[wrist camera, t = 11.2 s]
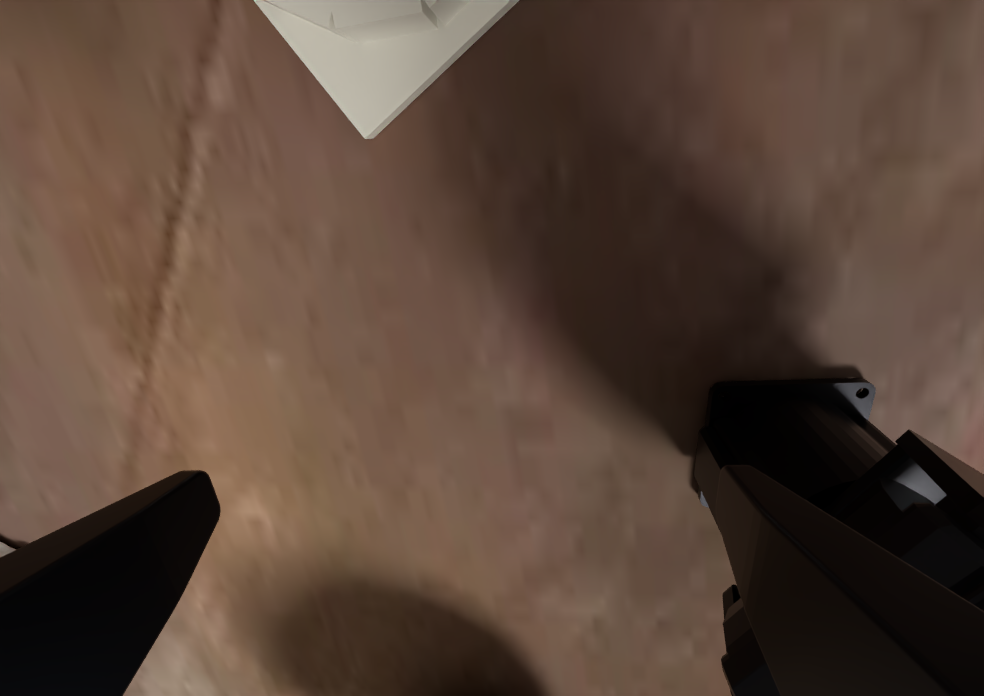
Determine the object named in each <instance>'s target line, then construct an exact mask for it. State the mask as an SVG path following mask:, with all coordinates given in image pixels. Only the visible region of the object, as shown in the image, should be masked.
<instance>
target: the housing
mask: <svg viewBox="0 0 984 696" xmlns="http://www.w3.org/2000/svg"><path fill="white" fill-rule="evenodd" d="M254 1H255V3H256V4H257V5H258V6H259V8H260V9H261V10H262V11H263V13H264V14H265V15H266V16H267V18H268V19H269V20H270V21H271V23H272V24H273V25H274V26H275V28H276V29H277V30H278V31H279V33H280V34H281V35H282V36H283V38H284V39H285V40H286V41H287V43H288V44H289V45H290V46H291V48H292V49H293V50H294V51H295V53H296V54H297V55H298V56H299V58H300V59H301V60H302V61H303V63H304V64H305V65H306V66H307V68H308V69H309V70H310V71H311V73H312V74H313V75H314V76H315V77H316V79H317V80H318V81H319V82H320V84H321V85H322V86H323V87H324V89H325V90H326V91H327V92H328V94H329V95H330V96H331V97H332V99H333V100H334V101H335V102H336V104H337V105H338V106H339V107H340V109H341V110H342V111H343V112H344V114H345V115H346V116H347V117H348V119H349V120H350V121H351V122H352V124H353V125H354V126H355V127H356V129H357V130H358V131H359V132H360V134H361V135H362V136H363V137H364V139H373V138H375V137H376V136H377V135H378V134H379V133H380V132H381V131H382V130H383V129H384V128H385V127H386V126H387V125H388V124H389V123H390V122H391V121H393V120H394V119H395V118H396V117H397V116H398V115H399V114H400V113H401V112H402V111H403V110H404V109H405V108H406V107H407V106H408V105H409V104H410V103H412V102H413V101H414V100H415V99H416V98H417V97H418V96H419V95H420V94H421V93H422V92H423V91H424V90H425V89H426V88H427V87H428V86H430V85H431V84H432V83H433V82H434V81H435V80H436V79H437V78H438V77H439V76H440V75H441V74H442V73H443V72H444V71H445V70H446V69H447V68H449V67H450V66H451V65H452V64H453V63H454V62H455V61H456V60H457V59H458V58H459V57H460V56H461V55H462V54H463V53H464V52H465V51H467V50H468V49H469V48H470V47H471V46H472V45H473V44H474V43H475V42H476V41H477V40H478V39H479V38H480V37H481V36H482V35H483V34H484V33H486V32H487V31H488V30H489V29H490V28H491V27H492V26H493V25H494V24H495V23H496V22H497V21H498V20H499V19H500V18H501V17H502V16H504V15H505V14H506V13H507V12H508V11H509V10H510V9H511V8H512V7H513V6H514V5H515V4H516V3H517V2H518V1H519V0H254Z"/></svg>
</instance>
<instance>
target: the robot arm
mask: <svg viewBox="0 0 984 696" xmlns="http://www.w3.org/2000/svg"><path fill="white" fill-rule="evenodd" d="M860 388H863V390H862V391H861V392H860V393H858V394H856V392H857V390H859V389H860ZM723 391H727V394H726V395H725V396H724V397H718V395H719V394H720V393H721V392H723ZM874 396H875V387H874V385H872V384H871V383H870V382H868V381H867V380H865V379H862V378H844V379H806V380H769V381H731V382H718V383H716V384H714V385H713V386H712V387H711V388H710V391H709V398H708V407H707V415H706V424H705V427H702V428H701V430H700V431H699V433H698V442H697V452H696V461H695V471H694V476H695V478H696V481H697V483H698V485H699V487H698V498H699V500H700V502H701V504H702V505H703V506H705V507H709V509H710V511H711V513H712V515H713V517H714V519H715V521H716V524H717V526H718V528H719V530H720V532H721V534H722V537H723V541H724V544H725V547H726V551H727V554H728V557H729V560H730V564H731V567H732V570H733V574H734V577H735V580H736V584H737V586H736V585H732V586H731V587H729V588H728V589H727V590H726V591H725V592H724V593H723V608H724V622H723V627H724V635H725V642H726V651H727V653H726V654H725V655H724V656H722V659H721V662H722V668H723V672H724V675H725V677H726V680H727V682H728V685H729V687H730V691H731V695H732V696H984V474H982V473H980V472H979V471H977V470H975V469H974V468H972V467H971V466H969V465H967V464H966V463H964V462H962V461H961V460H959V459H957V458H956V457H954V456H952V455H951V454H949V453H947V452H946V451H944V450H943V449H941V448H939V447H938V446H936V445H934V444H933V443H931V442H929V441H928V440H926V439H924V438H923V437H921V436H920V435H918V434H916V433H915V432H913V431H911V430H907V431H906V432H905V433H904V434H903V435H902V436H901V437H900V438H898V439H897V440H896V443H897V445H896V444H895V443H893V442H892V441H891V440H890V439H889V438H888V437H886V436H885V435H884V434H883V433H882V432H881V431H880V430H878V429H877V428H876V427H875V426H874V425H873V424H871V423H870V422H869V421H868V419H869V415H870V412H871V408H872V404H873V400H874ZM219 517H220V504H219V501H218V498H217V496H216V493H215V490H214V487H213V485H212V482H211V479H210V477H209V475H208V474H207V473H206V472H204V471H201V470H191V471H180V472H177V473H175V474H173V475H171V476H169V477H167V478H165V479H163V480H161V481H159V482H157V483H155V484H152V485H150V486H148V487H146V488H144V489H142V490H140V491H138V492H136V493H134V494H132V495H129V496H127V497H125V498H123V499H121V500H119V501H117V502H115V503H113V504H111V505H109V506H107V507H104V508H102V509H100V510H98V511H96V512H94V513H92V514H90V515H88V516H86V517H84V518H81V519H79V520H77V521H75V522H73V523H71V524H69V525H67V526H65V527H63V528H61V529H59V530H56V531H54V532H52V533H50V534H48V535H46V536H44V537H42V538H40V539H38V540H36V541H33V542H31V543H29V544H27V545H25V546H23V547H21V548H19V549H17V550H15V551H13V552H11V553H8V554H6V555H4V556H2V557H0V696H123V694H124V693H125V691H126V689H127V688H128V686H129V684H130V683H131V681H132V679H133V678H134V676H135V674H136V673H137V671H138V669H139V668H140V666H141V664H142V663H143V661H144V659H145V658H146V656H147V654H148V653H149V651H150V649H151V648H152V646H153V644H154V643H155V641H156V639H157V638H158V636H159V634H160V632H161V631H162V629H163V627H164V626H165V624H166V622H167V621H168V619H169V617H170V616H171V614H172V612H173V611H174V609H175V607H176V605H177V604H178V602H179V600H180V598H181V596H182V594H183V592H184V590H185V588H186V586H187V584H188V582H189V580H190V578H191V576H192V574H193V572H194V570H195V568H196V566H197V564H198V562H199V560H200V558H201V555H202V553H203V551H204V549H205V547H206V545H207V543H208V541H209V539H210V537H211V535H212V533H213V531H214V529H215V526H216V524H217V522H218V520H219Z"/></svg>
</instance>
